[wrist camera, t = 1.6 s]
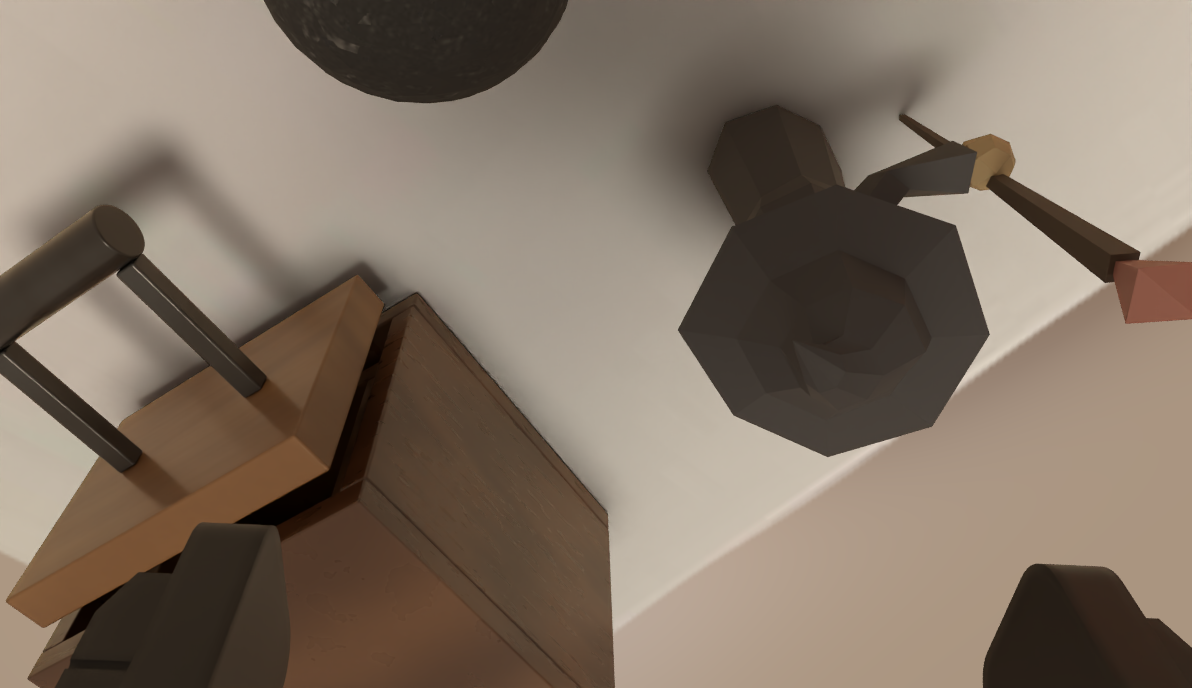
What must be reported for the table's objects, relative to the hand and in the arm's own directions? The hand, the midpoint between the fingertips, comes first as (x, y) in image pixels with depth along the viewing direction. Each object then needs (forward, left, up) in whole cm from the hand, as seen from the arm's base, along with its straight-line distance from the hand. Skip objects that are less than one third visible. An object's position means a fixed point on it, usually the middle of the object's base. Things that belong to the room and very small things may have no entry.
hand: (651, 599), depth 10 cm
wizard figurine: (-4, +4, -18) cm, 18 cm away
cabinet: (+13, +7, -18) cm, 23 cm away
